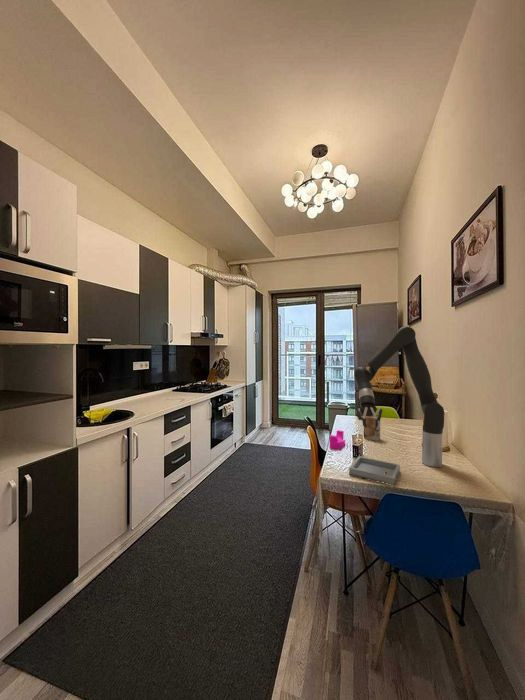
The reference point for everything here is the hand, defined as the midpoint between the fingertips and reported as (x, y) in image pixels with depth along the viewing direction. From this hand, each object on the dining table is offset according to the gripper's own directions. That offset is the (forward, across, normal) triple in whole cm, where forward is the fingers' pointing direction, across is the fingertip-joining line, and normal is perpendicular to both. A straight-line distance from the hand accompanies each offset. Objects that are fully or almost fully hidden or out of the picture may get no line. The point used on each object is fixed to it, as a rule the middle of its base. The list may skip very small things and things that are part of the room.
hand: (370, 427), depth 145 cm
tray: (+17, +2, +14) cm, 22 cm away
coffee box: (-22, +11, +53) cm, 59 cm away
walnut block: (+2, 0, +4) cm, 5 cm away
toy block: (-9, -12, +40) cm, 43 cm away
